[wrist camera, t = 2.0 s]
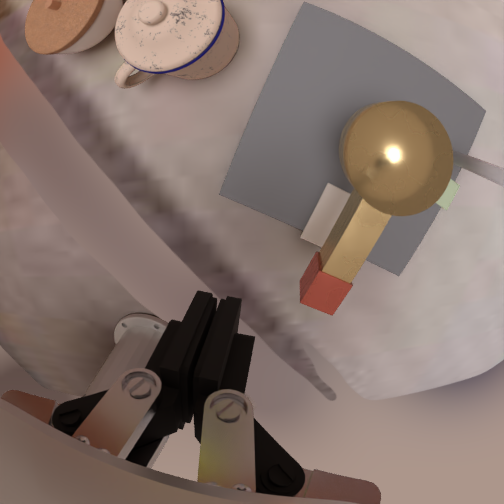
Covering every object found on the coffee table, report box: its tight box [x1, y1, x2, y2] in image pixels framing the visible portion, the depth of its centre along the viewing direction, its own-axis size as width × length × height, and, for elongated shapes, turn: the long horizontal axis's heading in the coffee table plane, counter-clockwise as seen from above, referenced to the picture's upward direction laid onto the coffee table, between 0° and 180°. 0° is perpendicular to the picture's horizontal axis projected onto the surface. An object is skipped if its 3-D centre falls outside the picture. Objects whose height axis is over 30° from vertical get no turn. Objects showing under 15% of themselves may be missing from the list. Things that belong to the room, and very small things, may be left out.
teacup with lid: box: [115, 0, 239, 89], centre depth 20 cm, size 12×9×12 cm
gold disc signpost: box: [300, 101, 453, 315], centre depth 20 cm, size 16×8×4 cm, turn 158°
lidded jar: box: [25, 0, 123, 55], centre depth 20 cm, size 11×11×9 cm
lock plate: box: [219, 2, 504, 276], centre depth 22 cm, size 23×23×12 cm
